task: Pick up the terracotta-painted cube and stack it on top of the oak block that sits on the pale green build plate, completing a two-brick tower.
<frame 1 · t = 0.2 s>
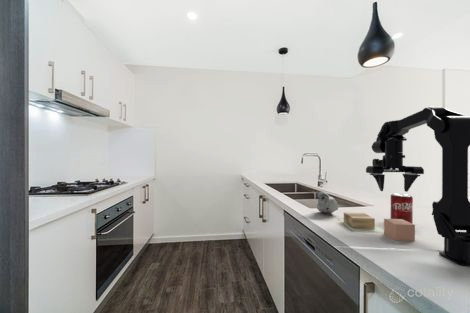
hand: (393, 191, 83), 14 cm above the counter, fingers open, 9 cm apart
build plate: (359, 225, 84), on the counter
terracotta block: (398, 238, 71), on the counter
oak block: (358, 225, 83), point 1 cm above the counter, touching build plate
soda can: (401, 224, 87), on the counter
grey rounded lump: (327, 215, 98), on the counter
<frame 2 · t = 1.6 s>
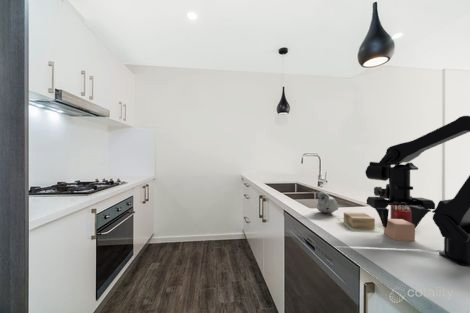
hand: (399, 227, 71), 4 cm above the counter, fingers open, 9 cm apart
nothing on the counter moved.
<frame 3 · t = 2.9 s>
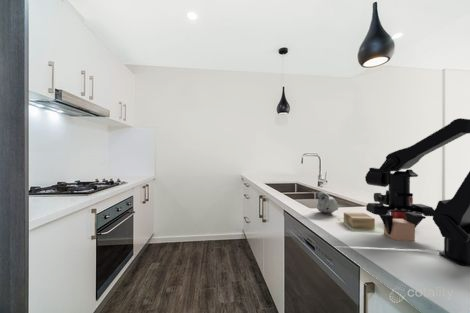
hand: (398, 234, 71), 2 cm above the counter, fingers closed on terracotta block, 6 cm apart
terracotta block: (398, 238, 71), on the counter, touching gripper
everything else where it was.
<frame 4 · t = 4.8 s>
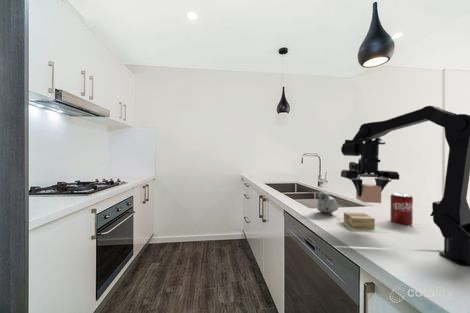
hand: (368, 196, 80), 13 cm above the counter, fingers closed on terracotta block, 6 cm apart
terracotta block: (368, 200, 80), point 11 cm above the counter, touching gripper
everything else where it was.
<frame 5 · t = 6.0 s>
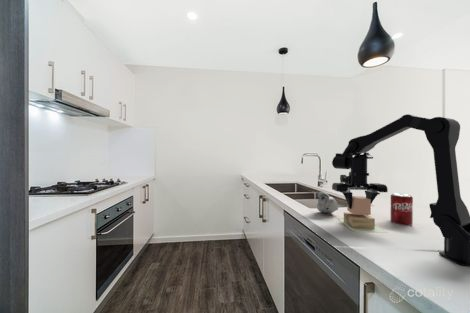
hand: (358, 208, 83), 7 cm above the counter, fingers closed on terracotta block, 6 cm apart
terracotta block: (358, 212, 83), point 6 cm above the counter, touching gripper
everything else where it was.
when the fingers open (7 cm above the counter, at t = 6.8 s): terracotta block stays where it is, resting on oak block.
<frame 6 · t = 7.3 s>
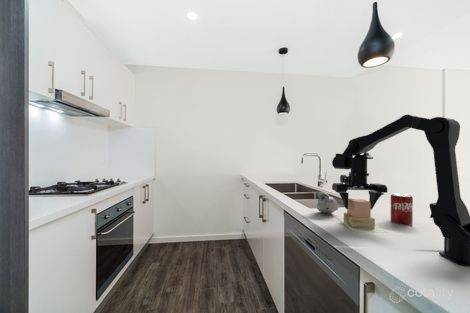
hand: (358, 209, 83), 7 cm above the counter, fingers open, 9 cm apart
terracotta block: (358, 215, 83), point 5 cm above the counter, touching oak block
oak block: (358, 225, 83), point 1 cm above the counter, touching build plate, terracotta block
everything else where it was.
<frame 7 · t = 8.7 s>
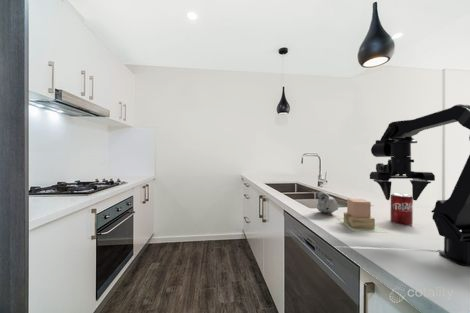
hand: (401, 200, 74), 13 cm above the counter, fingers open, 9 cm apart
nothing on the counter moved.
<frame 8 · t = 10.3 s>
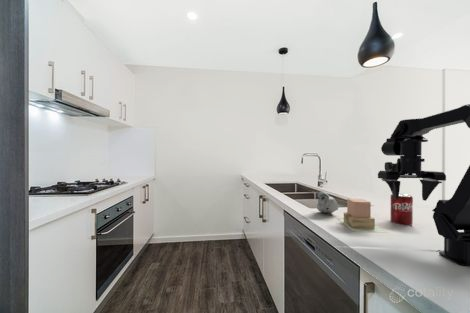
hand: (410, 200, 72), 13 cm above the counter, fingers open, 9 cm apart
nothing on the counter moved.
at the end: terracotta block 0.0 cm off-centre on the oak block, point 4.0 cm above the oak block's base; terracotta block tilted 0°; the gripper is holding nothing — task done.
